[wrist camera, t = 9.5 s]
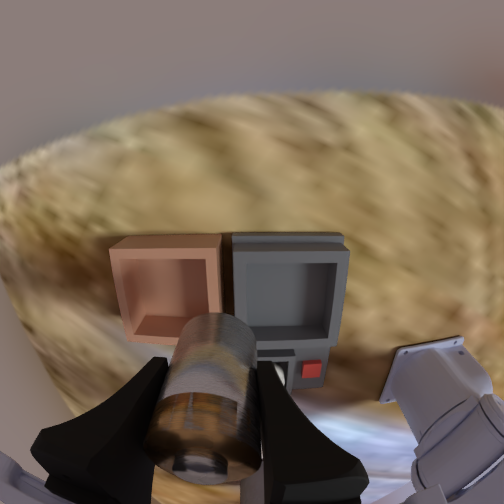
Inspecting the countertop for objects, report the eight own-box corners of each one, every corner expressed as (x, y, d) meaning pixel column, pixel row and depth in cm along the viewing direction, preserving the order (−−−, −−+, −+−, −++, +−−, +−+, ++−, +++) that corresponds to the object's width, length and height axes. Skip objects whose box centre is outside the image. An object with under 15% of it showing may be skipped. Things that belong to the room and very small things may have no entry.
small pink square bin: (221, 234, 21) (216, 248, 17) (225, 322, 23) (222, 347, 20) (128, 235, 21) (108, 248, 17) (141, 318, 23) (127, 341, 20)
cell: (257, 312, 13) (264, 447, 6) (256, 373, 15) (260, 496, 7) (175, 311, 13) (123, 434, 6) (185, 371, 15) (156, 488, 7)
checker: (340, 232, 21) (353, 243, 18) (320, 380, 25) (326, 401, 22) (232, 232, 21) (229, 243, 18) (238, 383, 25) (236, 405, 22)
